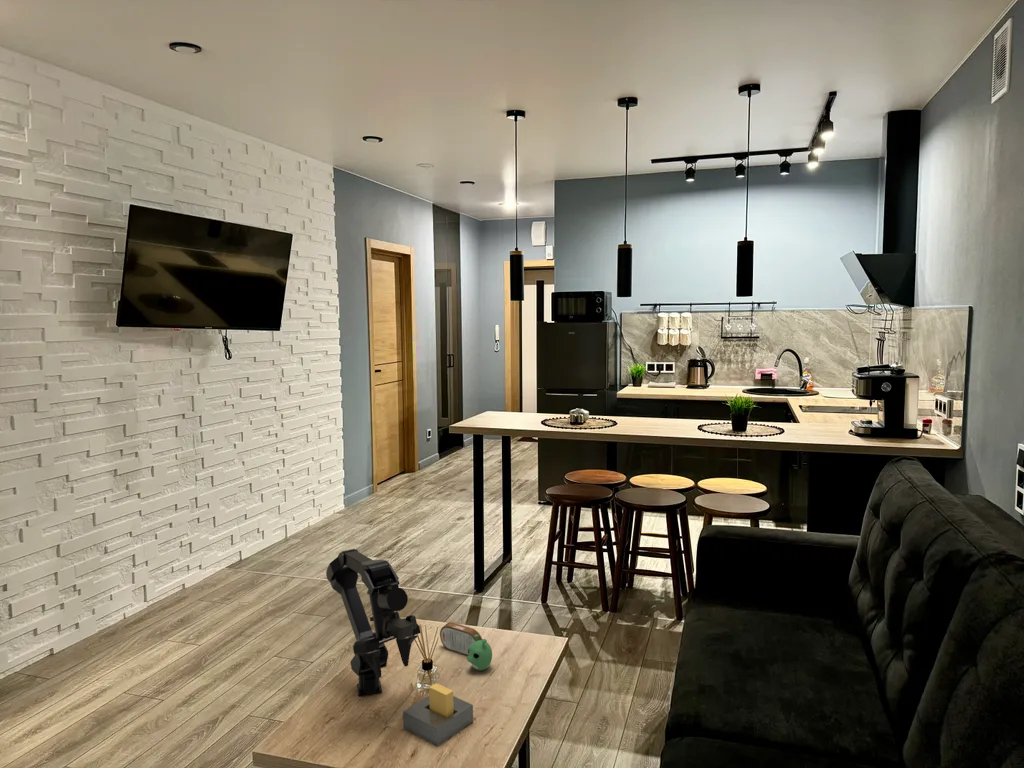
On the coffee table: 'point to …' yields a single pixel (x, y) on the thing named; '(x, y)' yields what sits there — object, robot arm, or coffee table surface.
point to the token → (441, 700)
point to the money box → (437, 720)
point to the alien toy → (479, 654)
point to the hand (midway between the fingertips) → (393, 671)
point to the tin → (458, 637)
